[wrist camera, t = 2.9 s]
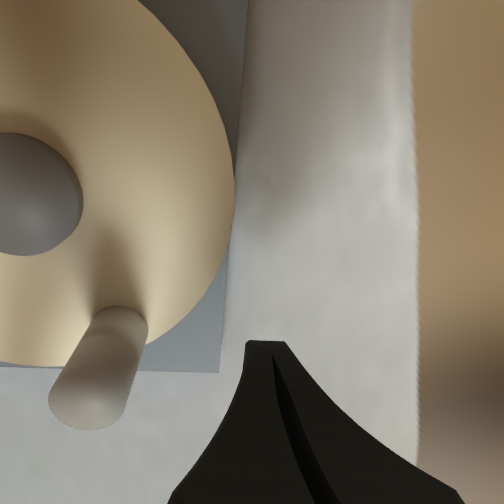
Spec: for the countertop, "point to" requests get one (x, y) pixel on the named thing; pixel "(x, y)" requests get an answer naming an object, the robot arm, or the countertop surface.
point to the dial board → (228, 103)
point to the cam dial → (102, 194)
